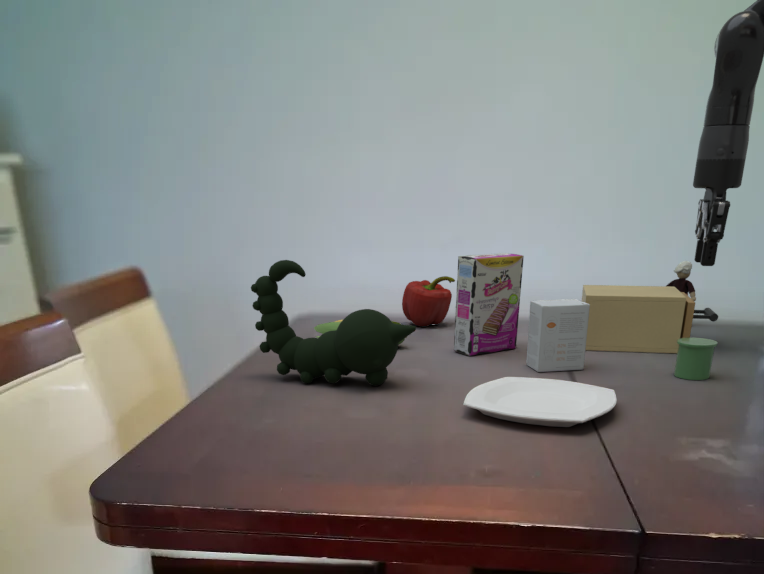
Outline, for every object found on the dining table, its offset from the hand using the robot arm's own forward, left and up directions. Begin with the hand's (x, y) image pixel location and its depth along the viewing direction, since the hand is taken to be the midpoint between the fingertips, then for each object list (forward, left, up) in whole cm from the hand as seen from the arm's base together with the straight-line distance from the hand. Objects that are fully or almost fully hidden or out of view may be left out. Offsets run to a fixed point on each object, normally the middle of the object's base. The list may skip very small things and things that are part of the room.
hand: (703, 263), depth 130 cm
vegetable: (+51, -13, -15) cm, 54 cm away
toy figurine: (+58, +36, -15) cm, 69 cm away
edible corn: (+61, +8, -15) cm, 63 cm away
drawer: (+7, 0, -14) cm, 15 cm away
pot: (+4, +23, -14) cm, 27 cm away
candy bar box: (+37, +10, -15) cm, 41 cm away
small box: (+25, +21, -15) cm, 35 cm away
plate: (+27, +46, -15) cm, 55 cm away
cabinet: (+12, 0, -14) cm, 18 cm away
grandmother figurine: (0, -22, -15) cm, 26 cm away
